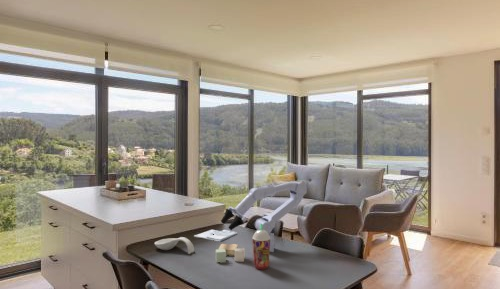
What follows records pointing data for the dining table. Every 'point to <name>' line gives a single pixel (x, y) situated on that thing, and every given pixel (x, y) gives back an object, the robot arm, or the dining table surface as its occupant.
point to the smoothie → (261, 249)
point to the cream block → (239, 254)
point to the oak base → (229, 248)
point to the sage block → (220, 255)
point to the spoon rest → (171, 242)
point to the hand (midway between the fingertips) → (225, 225)
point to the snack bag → (216, 235)
